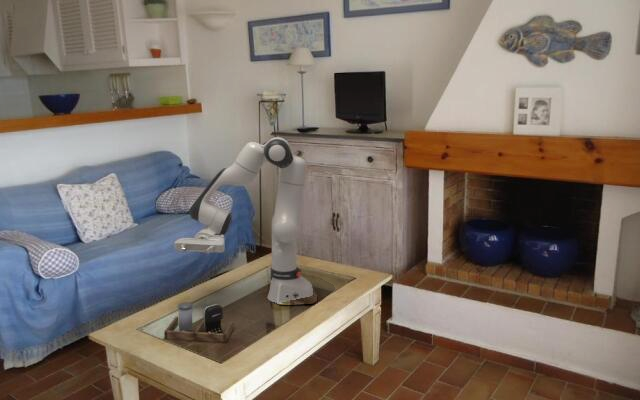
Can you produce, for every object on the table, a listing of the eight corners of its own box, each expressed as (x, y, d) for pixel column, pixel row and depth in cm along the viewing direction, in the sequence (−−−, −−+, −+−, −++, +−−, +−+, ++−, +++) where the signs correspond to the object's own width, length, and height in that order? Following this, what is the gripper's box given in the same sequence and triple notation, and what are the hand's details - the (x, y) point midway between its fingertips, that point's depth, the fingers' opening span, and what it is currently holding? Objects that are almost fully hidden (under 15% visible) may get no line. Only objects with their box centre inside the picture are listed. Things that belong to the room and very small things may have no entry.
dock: (233, 327, 212) (233, 319, 211) (225, 342, 199) (225, 334, 199) (175, 323, 213) (175, 315, 213) (164, 339, 201) (164, 330, 200)
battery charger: (208, 339, 202) (208, 310, 200) (203, 335, 205) (202, 307, 202) (224, 333, 207) (224, 305, 204) (218, 330, 209) (218, 302, 207)
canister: (194, 329, 209) (194, 302, 207) (190, 335, 204) (190, 308, 202) (181, 328, 210) (180, 301, 207) (176, 334, 204) (176, 307, 202)
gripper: (179, 232, 227) (168, 242, 214) (227, 235, 226) (219, 244, 213) (180, 247, 229) (169, 257, 215) (228, 249, 228) (219, 260, 214)
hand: (194, 251), depth 214 cm, fingers open, 8 cm apart
